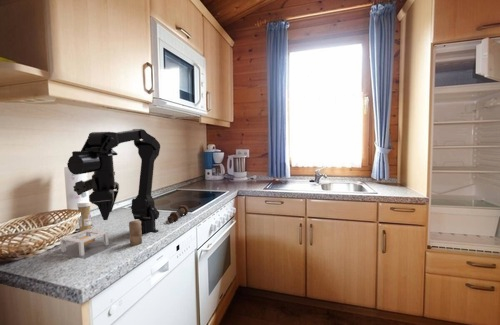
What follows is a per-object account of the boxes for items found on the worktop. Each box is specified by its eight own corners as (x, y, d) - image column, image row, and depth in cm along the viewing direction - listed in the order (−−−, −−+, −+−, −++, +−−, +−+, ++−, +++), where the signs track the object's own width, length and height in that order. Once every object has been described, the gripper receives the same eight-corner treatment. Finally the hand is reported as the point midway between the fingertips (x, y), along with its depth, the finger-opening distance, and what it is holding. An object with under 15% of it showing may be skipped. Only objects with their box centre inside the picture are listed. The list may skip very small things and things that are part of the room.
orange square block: (86, 239, 90) (86, 235, 90) (94, 241, 89) (94, 236, 89) (75, 243, 86) (75, 239, 86) (83, 245, 85) (83, 241, 85)
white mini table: (86, 241, 96) (85, 227, 96) (117, 246, 91) (116, 232, 90) (52, 254, 85) (51, 238, 85) (85, 261, 79) (84, 244, 79)
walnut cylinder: (136, 243, 94) (135, 219, 93) (144, 244, 92) (143, 220, 92) (127, 247, 90) (126, 223, 89) (136, 248, 89) (134, 224, 88)
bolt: (168, 227, 118) (183, 216, 132) (177, 222, 116) (190, 212, 131) (162, 216, 118) (177, 207, 132) (170, 211, 116) (184, 203, 131)
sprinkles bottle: (91, 233, 105) (88, 202, 104) (78, 235, 103) (75, 203, 102) (92, 230, 109) (91, 199, 108) (80, 231, 107) (78, 201, 106)
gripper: (82, 168, 88) (86, 211, 89) (65, 175, 70) (71, 229, 72) (117, 166, 92) (120, 207, 93) (110, 172, 75) (114, 223, 76)
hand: (107, 215), depth 84 cm, fingers open, 9 cm apart
